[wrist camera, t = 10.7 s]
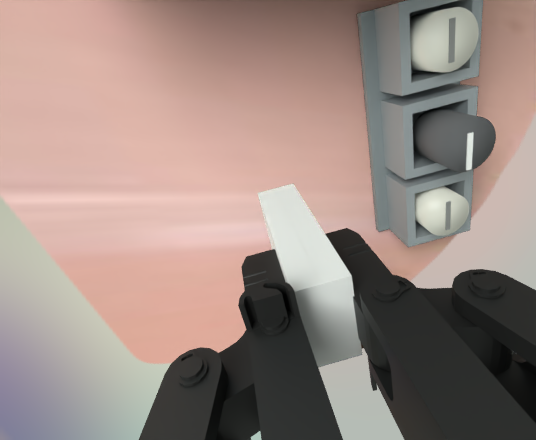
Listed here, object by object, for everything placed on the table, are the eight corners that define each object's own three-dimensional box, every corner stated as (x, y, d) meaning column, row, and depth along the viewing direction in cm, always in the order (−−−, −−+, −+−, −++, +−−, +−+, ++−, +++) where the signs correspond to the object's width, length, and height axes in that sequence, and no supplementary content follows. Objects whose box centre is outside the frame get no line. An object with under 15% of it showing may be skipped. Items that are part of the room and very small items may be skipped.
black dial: (409, 114, 36) (444, 125, 31) (455, 102, 36) (499, 110, 31) (410, 161, 38) (443, 178, 33) (454, 149, 39) (494, 164, 33)
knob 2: (399, 183, 43) (426, 201, 37) (438, 172, 43) (471, 189, 38) (400, 219, 45) (426, 241, 40) (438, 208, 45) (469, 229, 40)
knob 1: (390, 21, 35) (424, 14, 29) (439, 8, 35) (481, 0, 29) (393, 75, 37) (425, 78, 32) (439, 63, 37) (478, 64, 32)
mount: (357, 14, 35) (382, 6, 30) (458, -12, 36) (499, -23, 30) (376, 229, 47) (396, 250, 42) (452, 208, 47) (481, 227, 42)
